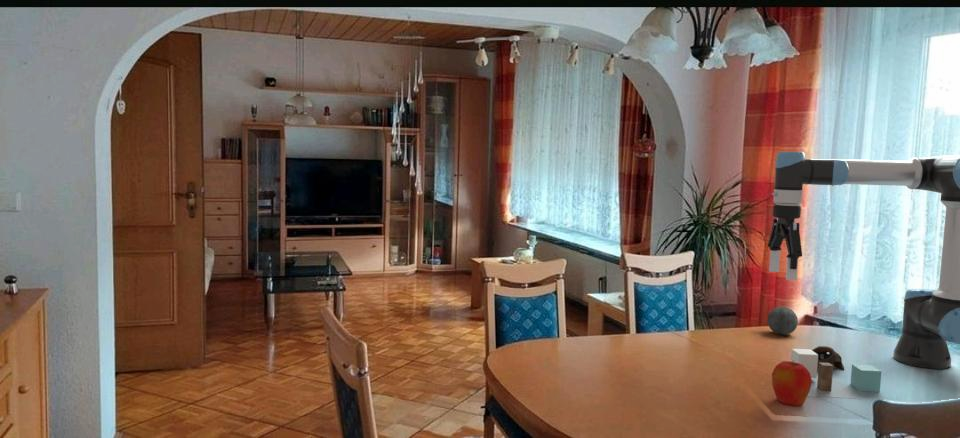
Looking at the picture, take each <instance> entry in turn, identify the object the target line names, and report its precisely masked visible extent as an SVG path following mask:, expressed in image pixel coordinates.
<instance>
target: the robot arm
mask: <svg viewBox="0 0 960 438" xmlns="http://www.w3.org/2000/svg"><path fill="white" fill-rule="evenodd" d="M774 170H775V171H774V189H773V192H772V196H773V203H774V204H773V206H772V214H771V215H772V217H773V221H772V227H771V230H770V233H769V234H770V235H769V239H768V243H767V247H768V248H769V251H770V254H769V266H768V272H771V273H780V261H781V251H782V247H781V246H782V243H783V242H784V240H785V245H786V249H787V255H786V272H785V280H786V281H797V278H798V266H799V265H798V264H799V263H798V262H799V258H801V257H802V256H803V249H802V243H801V242H802V241H801V233H800V223H799V222H795V219H800V218H801V215H802V214H801V213H802V206H801V204H802V202H803V201H802V200H803V191H804V189H803V186H804V185H807V186H808V185H813V186H814V185H815V186H832V187H833V186H842V185H861V186H865V185H867V186H896V187H897V186H902V187H903V186H904V187H907V189H909V190H922V191H926V192H927V191H928V192H933V193H939V194H940V203H942V205H944V206H945V216H944V217H945V218H944V228H943V229H944V230H943V238H942V239H943V240H942V249H941V250H942V251H941V260H940V261H941V262H940V272H939V282H938V284H939V285H938V288H937V289H925V288H924V289H923V288H910V289H907V290H906V292H905V295H904V298H903V302H904V303H903V313H902V314H903V315H902V329H901V335H900V337H899V339H898V341H897V343H896V345H895V348H894V350H893V359H894V360H896V361H898V362H900V363H903V364H906V365H909V366H915V367H919V368H925V369H936V370H937V369H939V370H940V369H941V370H943V369H944V370H945V369H949V368H950V367H951V366H952V358H951V353H950V350H949V345H948V342H949V343H952V344H956V345H960V154H957V155H956V154H953V155H952V154H948V155H939V156H938V155H937V156H930V157H912V158H909V159H908V160H881V159H880V160H879V159H878V160H877V159H875V160H873V159H872V160H870V159H836V158H832V159H831V158H806V155H805V152H803V151H780V152H778V153H777V155H776V160H775V167H774ZM948 367H949V368H948Z"/></svg>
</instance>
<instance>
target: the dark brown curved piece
mask: <svg viewBox="0 0 960 438" xmlns="http://www.w3.org/2000/svg"><path fill="white" fill-rule="evenodd" d="M811 350H812V351H813V352H815V353H816V354H818V365H817V370H818V368H819V362H822V363H830V364H831V365H833V369H834V368H835V369H842V370H843V371H845V366H844V364H843V362H842V361H843V360H842V357H841V355H840V354H839V353H838V351H835V349H834V348H832V347H830V346H825V345H823V346H821V345H819V346H816V347H815V348H813V349H811Z"/></svg>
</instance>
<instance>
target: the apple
mask: <svg viewBox="0 0 960 438" xmlns="http://www.w3.org/2000/svg"><path fill="white" fill-rule="evenodd" d="M793 361H794V360H793ZM771 379H772V380H771V381H772V383H771V385H772V388H773V392H774V395H775V398H776V399H777V401H779V402H780V403H781V404H783V405H786V406H790V407H800V406H802V405H803V404H804V403H805V402H806V400H807V398H808V397H809V396H808V394H809V392H810V388H811V383H812V379H811V375H810V372H809V371H808V370H807V369H806V367H805V366H804V365H802V364H799V363H795V362H791V360H790V361H787V360H786V361H785V360H783V361H781V362H779V363H778V364H777V365H775V367H774V368H773V371H772V373H771Z"/></svg>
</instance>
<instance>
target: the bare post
mask: <svg viewBox="0 0 960 438" xmlns="http://www.w3.org/2000/svg"><path fill="white" fill-rule="evenodd" d="M833 371H834V368H833V365H831V364H830V363H822V362H819V368H818V369H817V373H818V381H817V388H818V389H819V390H821V391H831V388H832V377H833V375H834V373H833Z"/></svg>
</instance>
